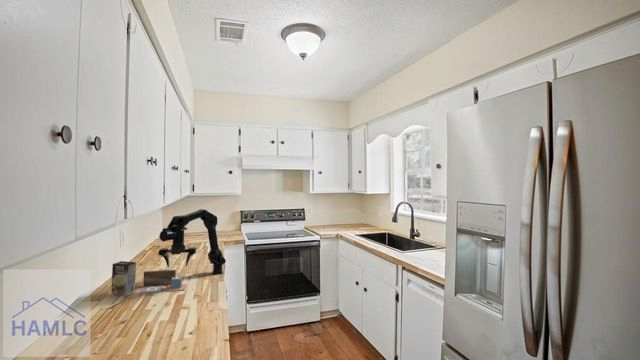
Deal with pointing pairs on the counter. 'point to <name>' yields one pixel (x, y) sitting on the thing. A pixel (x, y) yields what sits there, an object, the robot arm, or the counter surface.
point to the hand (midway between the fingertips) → (177, 266)
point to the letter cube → (176, 282)
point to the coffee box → (123, 278)
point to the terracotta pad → (176, 289)
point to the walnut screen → (158, 277)
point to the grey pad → (151, 289)
